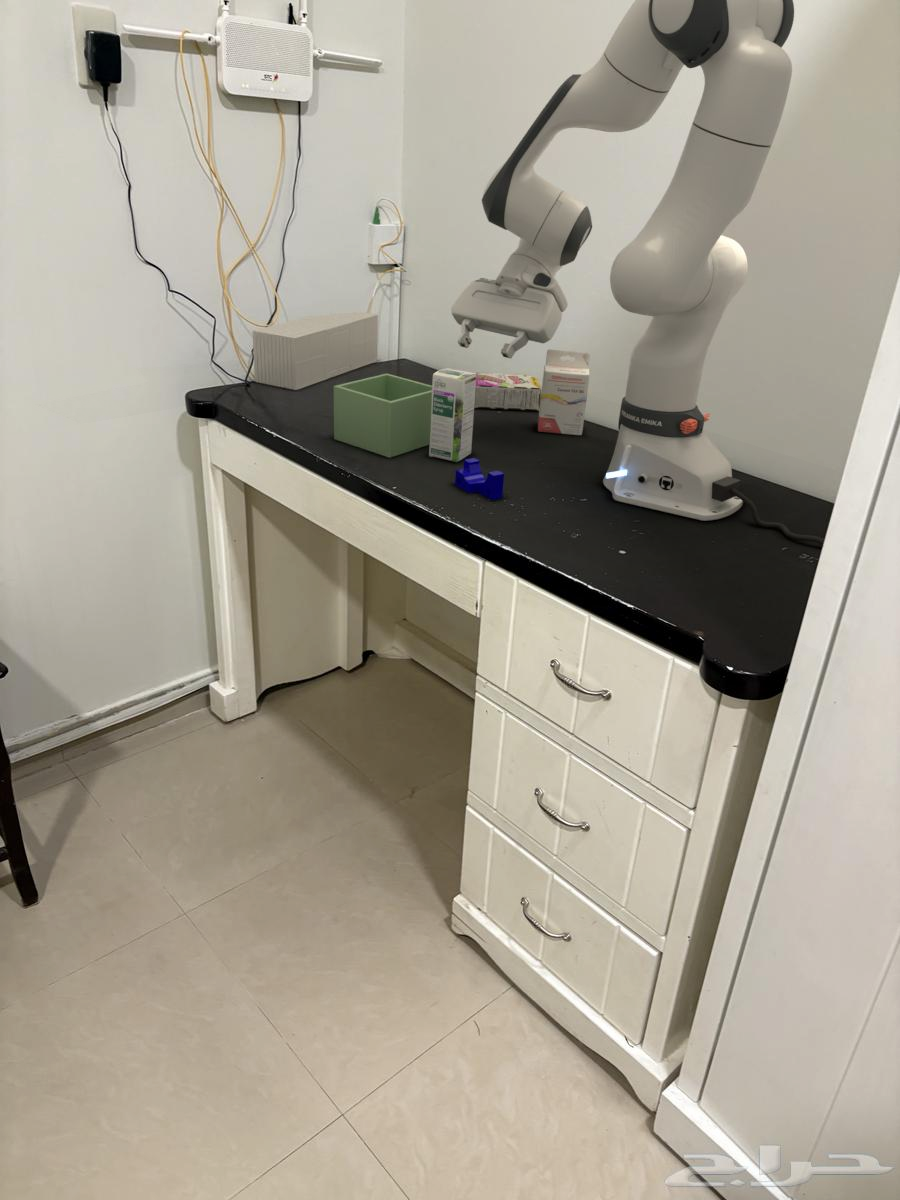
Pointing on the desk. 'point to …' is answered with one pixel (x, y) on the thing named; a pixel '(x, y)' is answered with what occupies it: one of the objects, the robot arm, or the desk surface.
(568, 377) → the ink cartridge box
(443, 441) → the syrup box
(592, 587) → the desk surface
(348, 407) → the waste bin
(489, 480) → the cable holder
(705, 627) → the desk surface
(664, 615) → the desk surface
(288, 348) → the stack of papers
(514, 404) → the candy bar box
